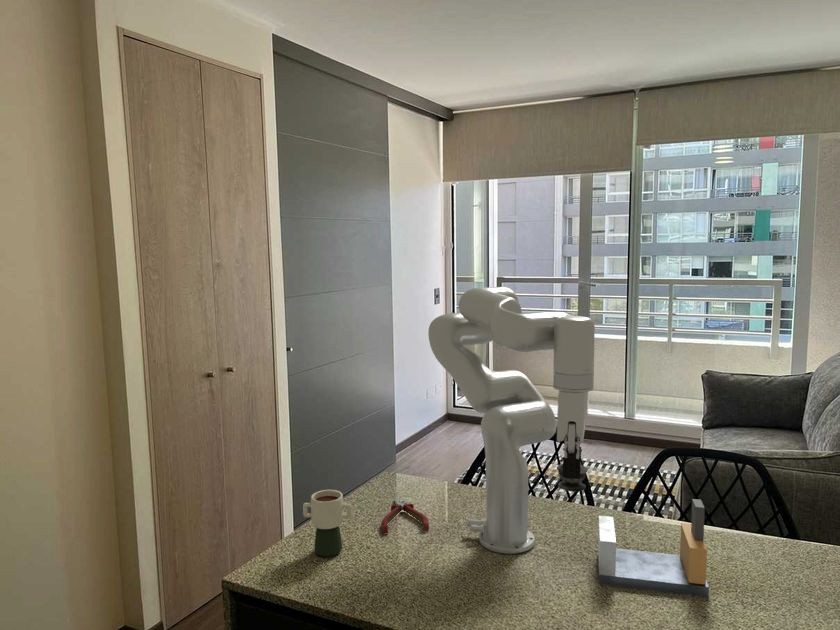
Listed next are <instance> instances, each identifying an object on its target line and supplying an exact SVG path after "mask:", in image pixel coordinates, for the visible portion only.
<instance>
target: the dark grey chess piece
mask: <svg viewBox="0 0 840 630" xmlns="http://www.w3.org/2000/svg"><path fill="white" fill-rule="evenodd" d="M577 438H578V436H577ZM567 441H568V438H567ZM575 442H577V439H575ZM579 443H580V442H579ZM576 446H577V445H575V447H576ZM567 447H568V445H567ZM580 447H581V444H580V445H579V458H580V452H581V453H582V451H583V449H582V448H581V449H580ZM562 450H563V451H564V447H563V448H562ZM556 470H557V471H558V472H557V473H558V475H559V478H560V479H561V480H562V481H559V483H558V484H557V487H558V488H559V489H561V490H563V491H566V492H573V493H574V492H575V493H576V492H582V491H584V490H586V489H587V488H586V487H587V486H586V484H585V483H583V481H584V480H585V478H586V476H587V473H588V470H589V469H588V468H587V467H586V466H585V465H583V464H582V461H581V462H580V479H571V478H564V477H563V463H561V464H558V465H557V466H556Z"/></svg>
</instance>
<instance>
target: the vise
mask: <svg viewBox="0 0 840 630" xmlns="http://www.w3.org/2000/svg"><path fill="white" fill-rule="evenodd" d="M597 524H598V527H597V529H598V530H597V531H598V532H597V535H598V536H597V537H598V538H597V542H598V543H597V561H598V562H597V563H598V581H599V582H598V583H599V585H602V586H603V585H605V586H610V587H611V586H612V587H620V588H629V589H638V590H644V591H645V590H646V591H652V592H653V591H654V592H662V593H663V592H664V593H670V594H679V595H687V596H695V597H704V598H705V597H706V598H709V595H710V594H709V593H710V587H709V586H710V585H709V584H708V581H707V580H706V585H705V584H696V583H689V582H688V579H687V575H686V572H685V569H684V566H683V563H682V560H681V557H680V554H674V553H672V554H671V553H664V552H656V551H655V552H654V551H643V550H636V549H635V550H634V549H626V548H617V539H616V532H615V531H616V529H615V522H614V516H607V515H598V523H597Z"/></svg>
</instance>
